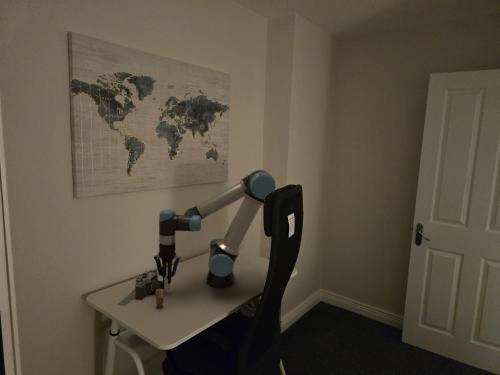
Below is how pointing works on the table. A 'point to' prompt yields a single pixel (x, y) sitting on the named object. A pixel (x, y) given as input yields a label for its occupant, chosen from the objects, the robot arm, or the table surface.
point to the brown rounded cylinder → (159, 298)
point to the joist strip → (128, 298)
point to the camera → (147, 284)
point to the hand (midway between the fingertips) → (166, 289)
